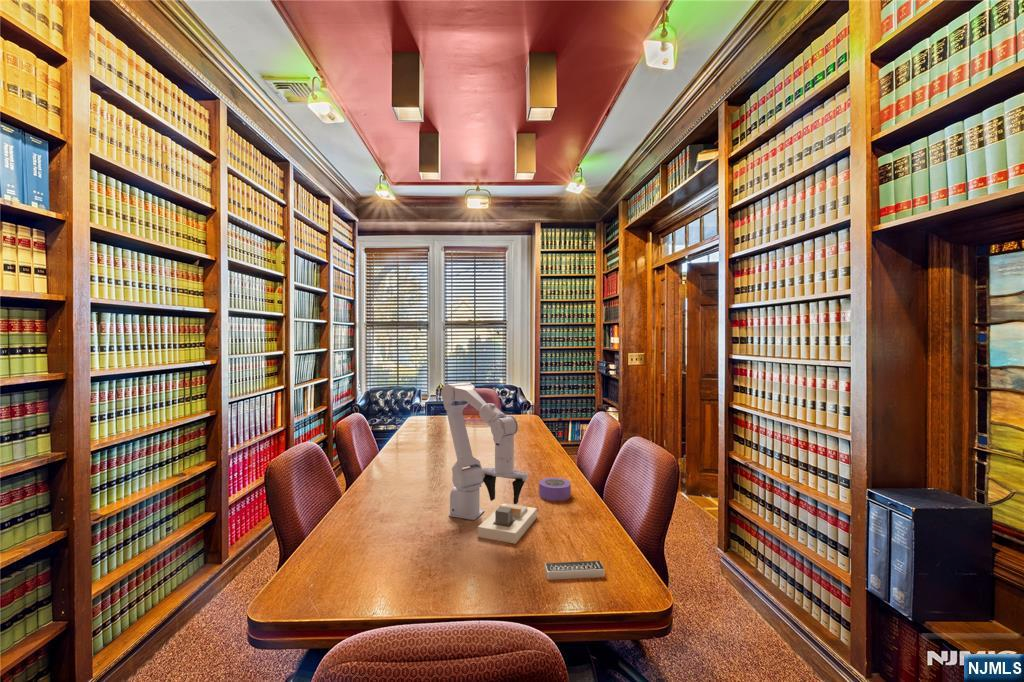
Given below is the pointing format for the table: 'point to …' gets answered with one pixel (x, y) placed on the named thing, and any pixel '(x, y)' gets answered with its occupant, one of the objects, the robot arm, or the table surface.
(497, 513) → the plug
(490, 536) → the socket plate
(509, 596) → the table surface
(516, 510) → the shutter
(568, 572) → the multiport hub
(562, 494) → the tape roll
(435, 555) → the table surface
